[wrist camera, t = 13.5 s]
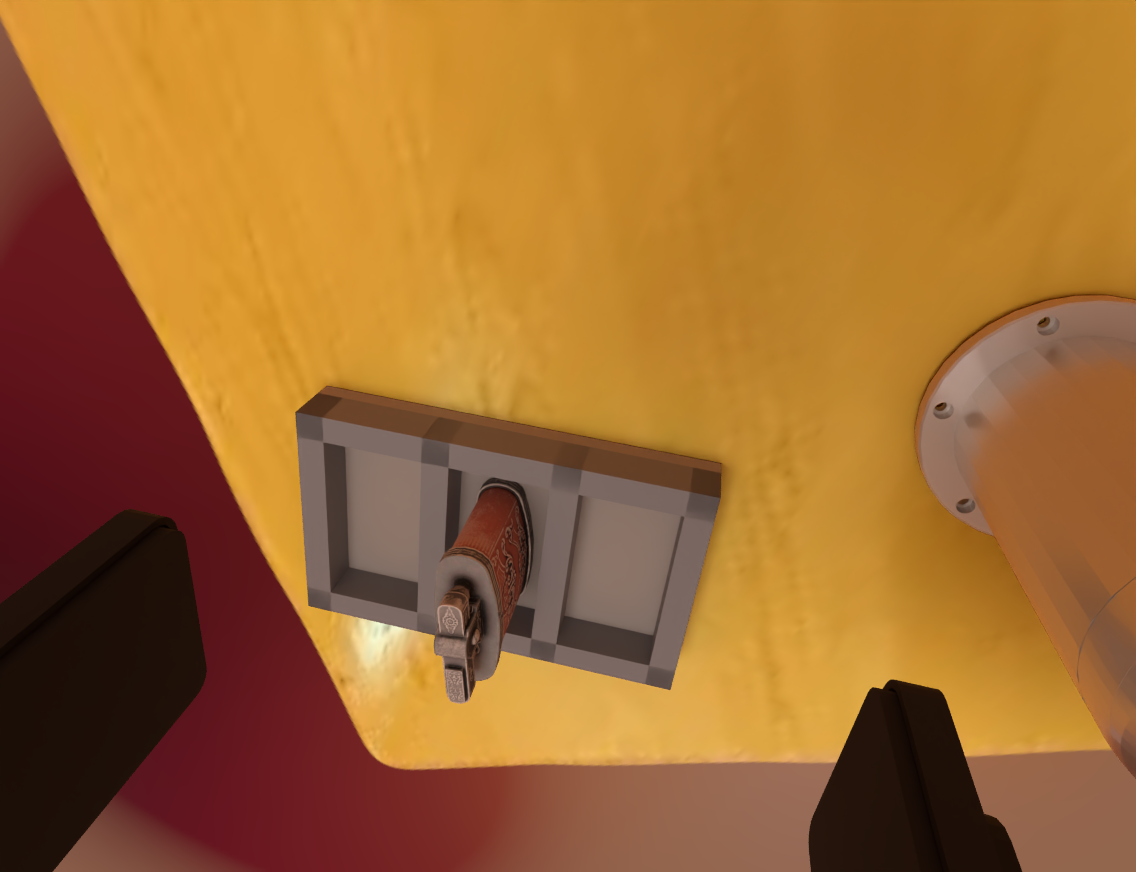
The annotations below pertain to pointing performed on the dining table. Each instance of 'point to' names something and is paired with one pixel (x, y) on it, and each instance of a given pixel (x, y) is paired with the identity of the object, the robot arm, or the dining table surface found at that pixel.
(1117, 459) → the robot arm
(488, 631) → the lighter
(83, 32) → the dining table surface
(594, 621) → the tray
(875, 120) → the dining table surface
